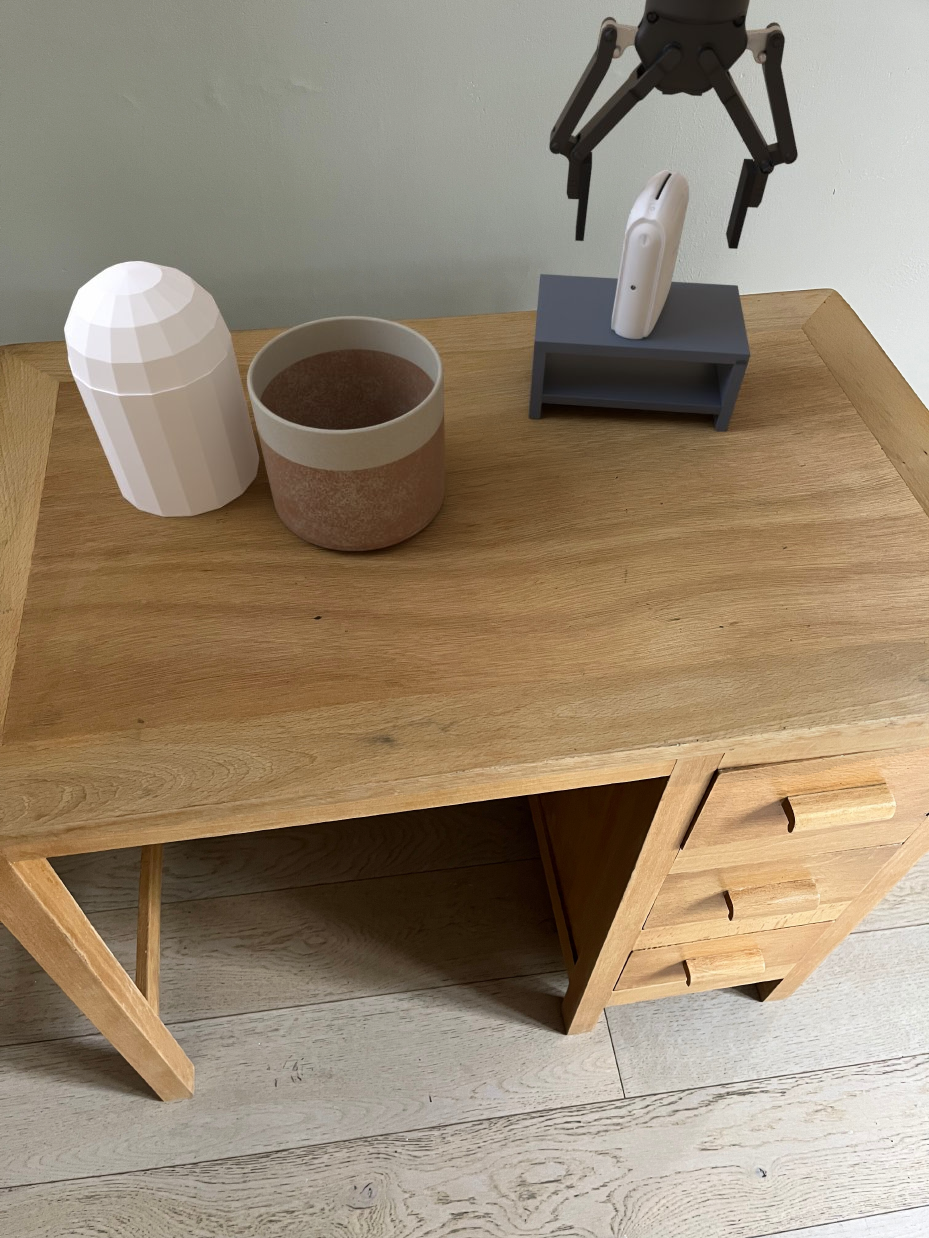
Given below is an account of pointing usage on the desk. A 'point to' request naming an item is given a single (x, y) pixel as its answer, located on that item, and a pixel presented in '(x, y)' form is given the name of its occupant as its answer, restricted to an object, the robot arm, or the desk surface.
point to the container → (162, 388)
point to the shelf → (639, 350)
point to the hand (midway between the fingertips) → (655, 238)
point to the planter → (351, 430)
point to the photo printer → (649, 254)
